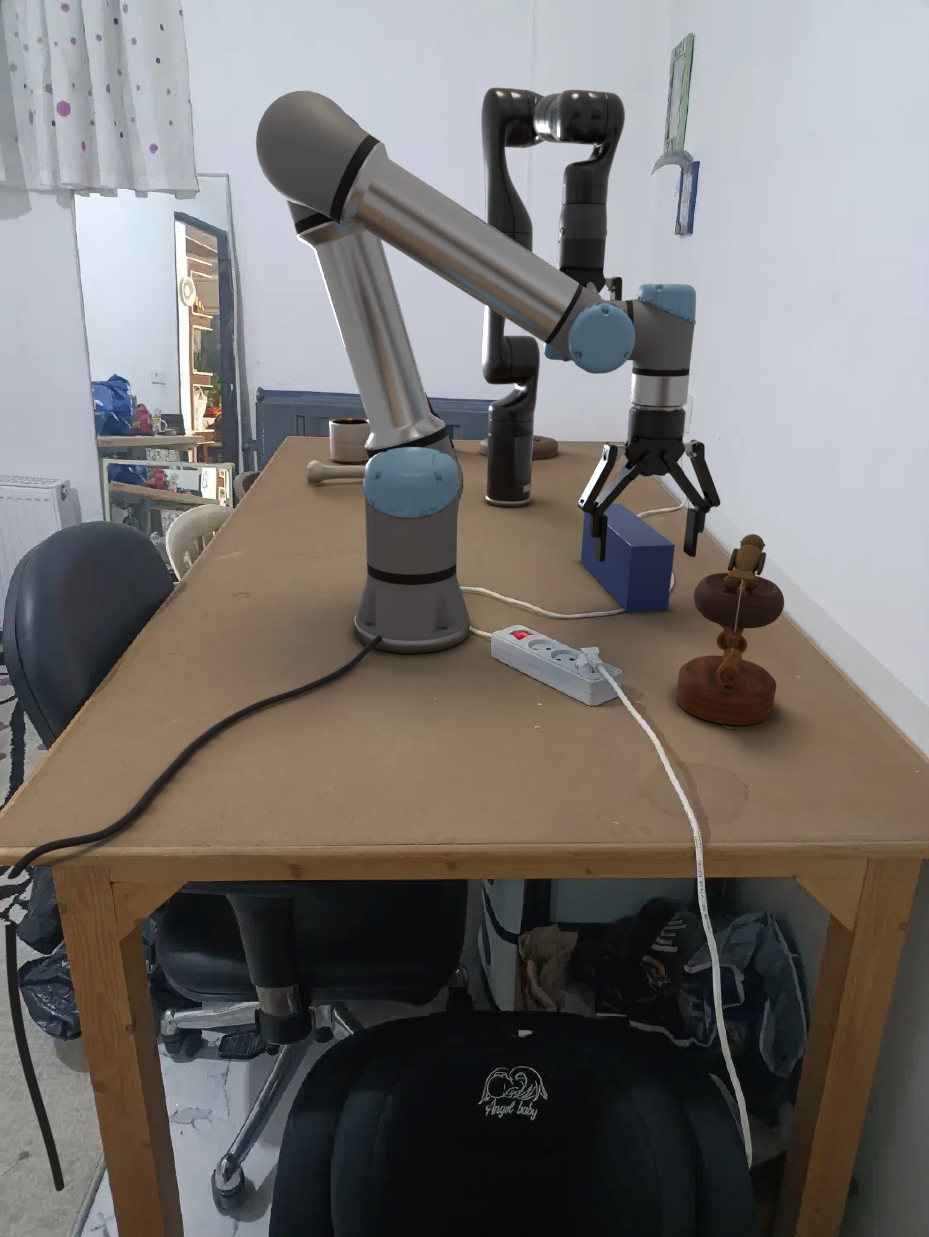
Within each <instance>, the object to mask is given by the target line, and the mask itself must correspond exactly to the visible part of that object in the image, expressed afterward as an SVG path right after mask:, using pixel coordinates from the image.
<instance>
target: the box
mask: <svg viewBox="0 0 929 1237" xmlns="http://www.w3.org/2000/svg"><path fill="white" fill-rule="evenodd" d="M604 514H605V515H606V516H607V517H608V522H607V537H606V552H605V561H604V562H600V561H599V560H598V559H597V558H596V557H595V556H594V549H595V538H593V537H592V536H591V535H590V532H589V528H590V513H586V512H584V511H583V524H582V525H583V526H582V539H581V555H580V562H581V564H582V565H583V566H584V567H585V568H586V569H587V571H588V572H589V573H591V576H593V577H594V578H595V579H596V580H597V581H598V583H599V584H600V585H601V586H602V587H603V588H604V590H605V591H606V592H608V593H609V595H610V596H611V597H612V598H613V599H614V600H615V601H616V603H617V604H618V605H619V606H620V607H621V608H622V609H623V610H624V611H625V613H636V612H637V613H638V612H657V611H658V612H659V611H668V608H669V601H670V592H671V584H672V574H673V566H674V565H673V564H674V557H675V549H676V545H675V544H674V543H673V542H671V540H669V539H668V538H667V537H665V536H664V535H663V534H662V533H660V532H659V531H657V529H655V528H653V527H652V526H651V525H649V524H648V523H647V522H646V521H644V520H643V519H642V518H640V517H639V516H638V515H637V514H635V513H634V512H632V511H631V510H630V509H629V508H627V507H626V506H625V505H624V504H622V503H612V504H611V505H610V506H609V507H608V508H607V510H606V511H605V512H604Z"/></svg>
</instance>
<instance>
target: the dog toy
mask: <svg viewBox="0 0 929 1237" xmlns="http://www.w3.org/2000/svg"><path fill="white" fill-rule="evenodd" d="M365 468H366V465H329V464H328V465H327V464H324V463H322V462H320V461H319V460H317V459H314V460H311V461H310V462H308V464H307V466H306V474H305V477H306V482H307V483H309V484H319V483H321V482H324V481H328V480H329V481H330V480H339V479H342V480H343V479H345V480H346V479H364V477H365Z"/></svg>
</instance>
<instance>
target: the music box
mask: <svg viewBox="0 0 929 1237" xmlns="http://www.w3.org/2000/svg"><path fill="white" fill-rule="evenodd" d="M741 539H742V540H740V541H739V543H740V544H739V545H740V547H739V548H737V547H735V548H733V550H732V552H731V556H730V559H729V562H728V565H727V571H728V572H717V573H716V572H715V573H712V574H708V575H707V576H705V577H703V578H702V579H701V580H700V581H699V582H698V583H697V584H696V586H695V588H694V592H693V603H694V606H695V608H696V610H697V611H698V613H699V614H700V615H701V616H702V617H703V618H705V619H706V620H708V621H710V622H712V623H715V624H717V625H719V626H720V627H722V628H723V630H722V631H721V632H719V633H718V635H717V637H716V645H717V647H718V649H720V650H722V651H723V653H722V655H702V656H698V657H694V658H693V659H690V660H689V661H687V662H685V663H684V664H682V666H680V668H679V670H678V678H677V685H676V694H675V699H676V702H677V703H678V705H679V706H680V707H681V708H682V709H683V710H684V711H686V712H687V713H689V714H691V715H692V716H694V717H696V718H699V719H701V720H705V721H707V722H712V723H716V724H721V725H729V726H746V725H748V726H749V725H753V724H758V723H760V722H763V721H765V720H767V719H769V717H770V716H771V715H772V713H773V708H774V702H775V697H776V692H777V681H776V680H775V678H774V677H773V676H772V674H770V672H768V670H766V668H764V667H763V666H760V665H759V664H757V663H755V662H752V661H750V660H746V659H743V653H745V652H746V651H747V648H748V641H747V639H746V638H745V637H744V636H743V633H744V630H745V629H758V628H759V629H760V628H763V627H766V626H769V625H771V624H772V623H775V621H777V620H778V618H779V617H780V616H781V615H782V613H783V610H784V608H785V607H784V606H785V597H784V594H783V591H782V590H781V588H780V587H779V586H778V585H777V584H776V583H775V582H773V581H771V580H770V579H767V578H764V577H761V575H762V573H763V571H764V568H765V564H766V560H767V552H766V551H764V549H765V547H766V543H765V542H764V539H763V538H762V537H761V536H760V535H758V534H755V533H750V534H747V535H745V536H744V537H742V538H741Z"/></svg>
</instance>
